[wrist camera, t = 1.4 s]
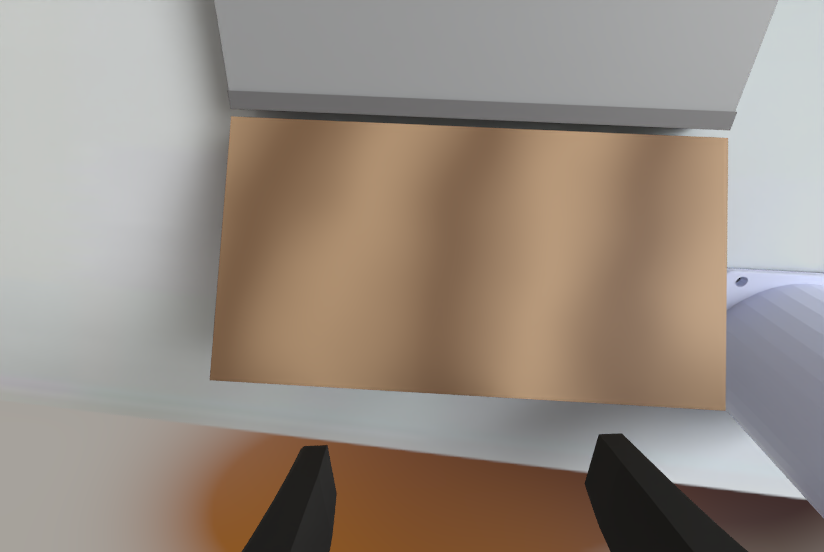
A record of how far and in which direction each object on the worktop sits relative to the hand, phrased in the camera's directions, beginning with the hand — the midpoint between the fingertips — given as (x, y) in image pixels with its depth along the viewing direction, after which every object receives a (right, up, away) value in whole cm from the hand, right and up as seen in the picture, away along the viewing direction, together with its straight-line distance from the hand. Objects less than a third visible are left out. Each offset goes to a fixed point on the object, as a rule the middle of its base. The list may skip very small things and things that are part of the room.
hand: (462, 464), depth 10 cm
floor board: (+1, +15, +3) cm, 15 cm away
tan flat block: (+1, +6, +5) cm, 7 cm away
